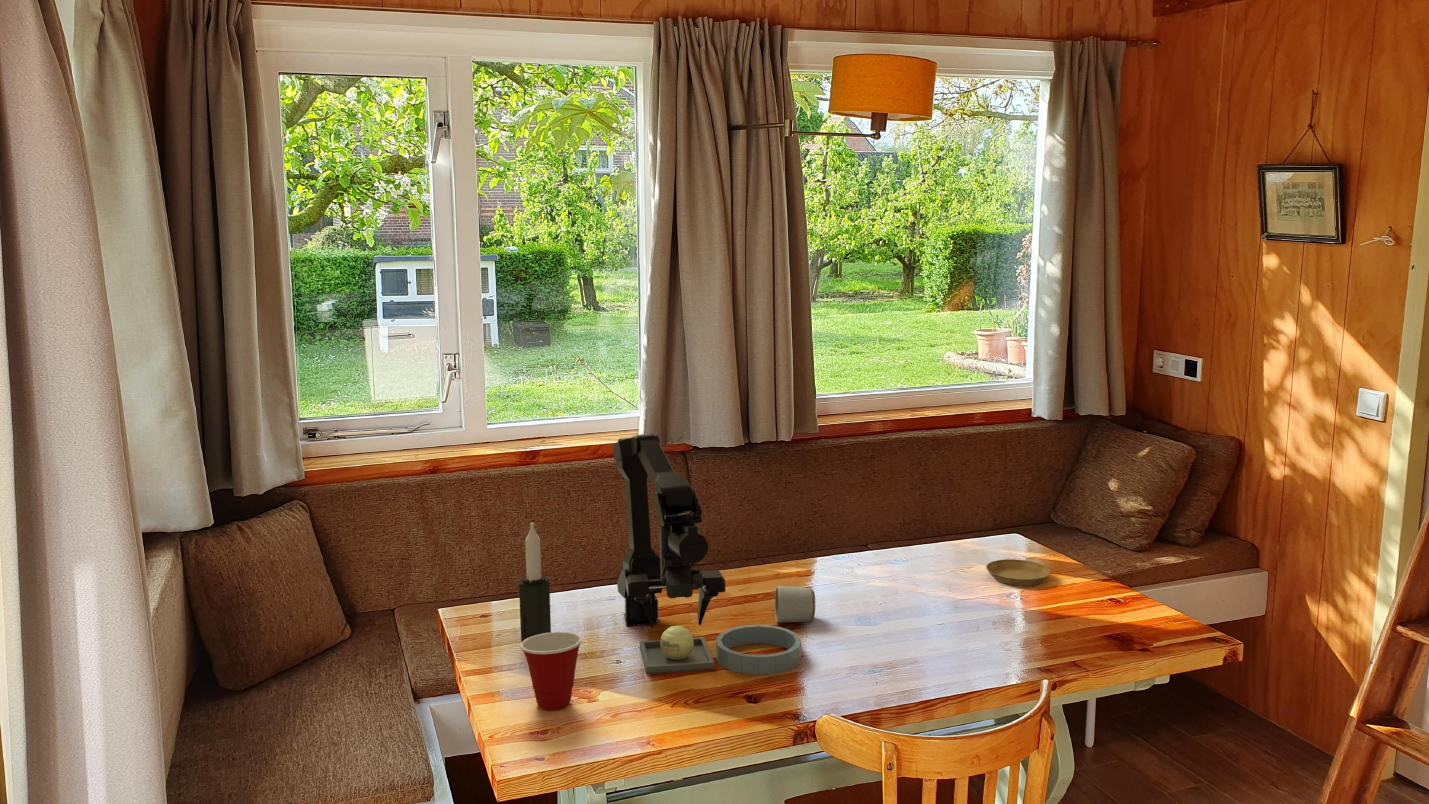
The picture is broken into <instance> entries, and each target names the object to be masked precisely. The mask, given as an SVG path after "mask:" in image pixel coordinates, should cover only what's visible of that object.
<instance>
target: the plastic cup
mask: <svg viewBox="0 0 1429 804" xmlns="http://www.w3.org/2000/svg"><path fill="white" fill-rule="evenodd" d="M582 639H583V638H582V636H581V635H579V634H577V633H574V632H570V631H554V632H552V631H551V633H544V634H539V635H535V636H532V637H530V638H527V639H525V640H524V641H523V642H521V641H520V645H519V647H520V649H521V650H522V651H523V654H524V656H525V659H526V662H527V666H528V671H529V675H530V680H531V683H532V689H533V691H534V694H535V695H534V696H535V700H536V701H535V702H536V704H537V707H539V709H541V710H543V711H549V712H552V711H553V712H554V711H560V710H563V709H565V708H568V706H569V705H571V701H572V694H573V687H574V682H575V675H576V674H575V673H576V667H577V659H578V655H579V654H578V653H579V651H580V650H579V648H580V646H581V644H582Z"/></svg>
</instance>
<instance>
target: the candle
mask: <svg viewBox="0 0 1429 804" xmlns="http://www.w3.org/2000/svg"><path fill="white" fill-rule="evenodd" d="M529 526H530V527H529V530H528V531H529V532H528V534H527V536H526V537H525V540H524V541H525V542H524V543H525V545H524V547H525V568H526V571H525V572H526V575H525V576H523V577H522V580H521V581H520V582H519V583H518V594H519V595H518V598H519V618H520V619H519V620H520V643H521V642H523V641H524V640H525V639H527V638H530V637H532V636H535V635H539V634H544V633H551V632H552V622H551V620H552V619H551V617H552V616H551V592H550V578H547V577H546V576H545V575H543V574H542V558H541V539H540V537H539V535H538V533H537V530H536V528H535V523H534V522H530V524H529Z"/></svg>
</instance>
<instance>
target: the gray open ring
mask: <svg viewBox="0 0 1429 804" xmlns="http://www.w3.org/2000/svg"><path fill="white" fill-rule="evenodd" d="M746 644H747V645H748V644H769V645H775V646H778V647H782V648H785V649H787V650H785V651H780V652H777V653H776V652H775V653H770V654H769V653H768V654H752V653H751V654H750V653H742V652H738V651H735V650H732V649H731V648H733V647H738V646H742V645H746ZM715 658H716V660H717V663H718V664H719V665H720V666H722V667H724V668H725V669H726V670H729V671H733V672H735V673H736V672H737V673H739V674H748V675H756V676H761V675H764V676H765V675H775V674H780V673H783V672H787V671H791V670H792V669H793V668H795V667H797V666H799V664H800V662H801V659H802V639H801V637H800V635H799V634H797V633H796V632H794V631H792V630H790V629H788V628H785V627H780V626H776V625H768V624H767V625H766V624H749V625H747V624H746V625H740V626H735V627H730V628H728V629H726V630H724V631H722V632H720V633H719V634H718V635H717V637H716V638H715Z"/></svg>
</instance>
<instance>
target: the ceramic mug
mask: <svg viewBox="0 0 1429 804" xmlns="http://www.w3.org/2000/svg"><path fill="white" fill-rule="evenodd" d="M774 594H775V595H774V615H775V616H774V617H775V621H776V623H778V624H779V623H807V622H812V621H813V620H814V619H815V615H816V593H815V591H814V590H813V589H812V588H810V587H801V586H786V585H777V586H776V588H775V593H774Z"/></svg>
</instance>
